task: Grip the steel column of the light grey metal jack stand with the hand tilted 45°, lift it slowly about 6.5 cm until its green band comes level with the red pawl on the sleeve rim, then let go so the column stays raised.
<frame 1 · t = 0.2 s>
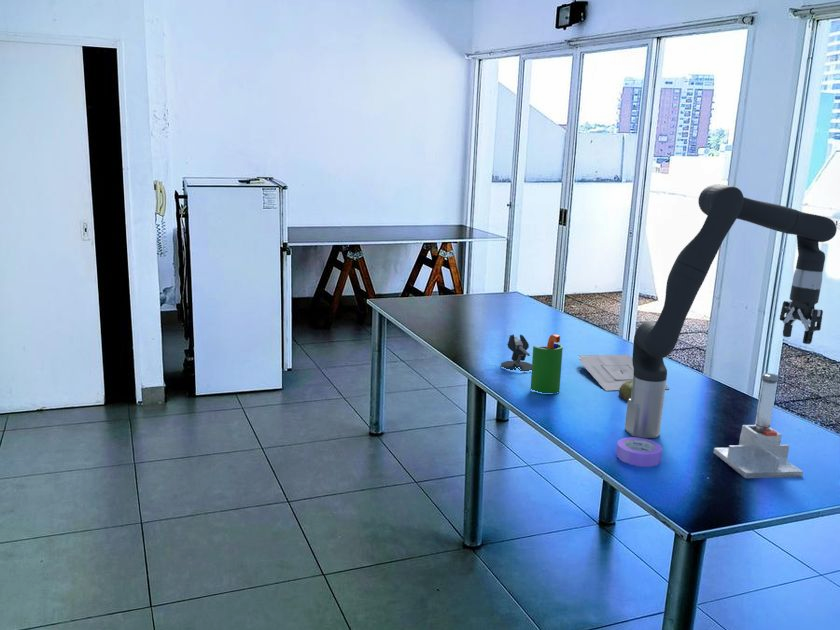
hand: (796, 340, 222), 29 cm above the table, fingers open, 8 cm apart
masking tape: (638, 459, 205), on the table
weight: (639, 398, 254), on the table
jack base: (756, 464, 204), on the table
green pen holder: (545, 390, 257), on the table
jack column: (763, 417, 201), point 14 cm above the table, slide at 0.0 cm
papers: (619, 378, 275), on the table
gun turret: (520, 371, 278), on the table
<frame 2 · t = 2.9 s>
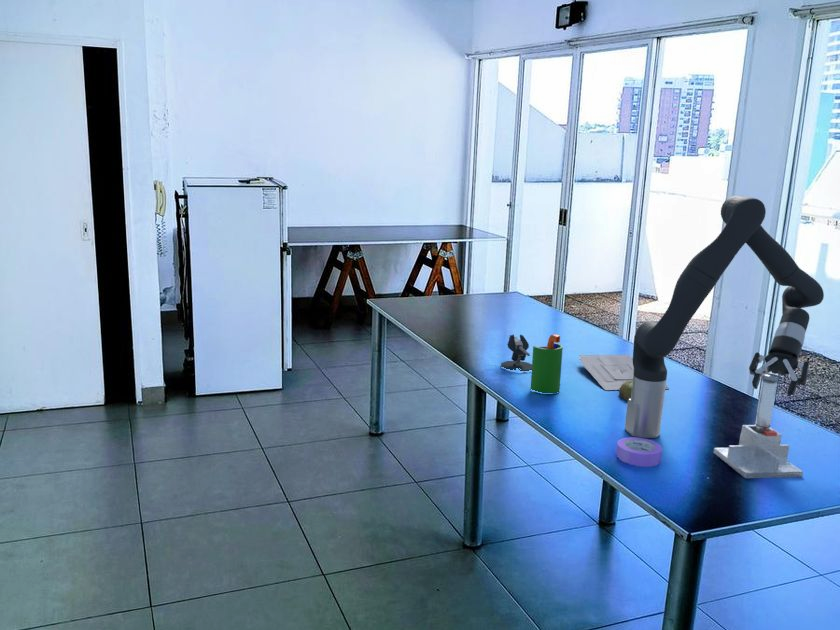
hand: (771, 391, 204), 19 cm above the table, fingers open, 8 cm apart
nothing on the table moved.
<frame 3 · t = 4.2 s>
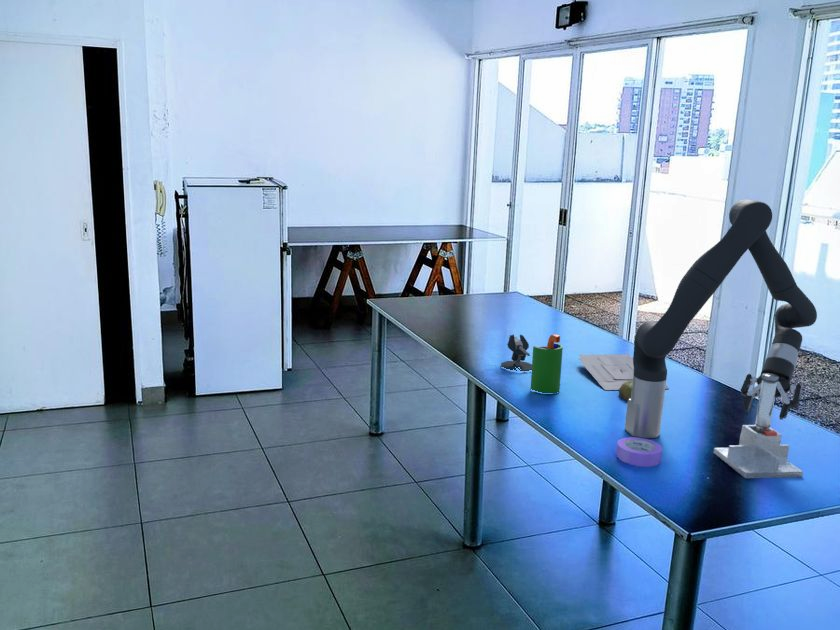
hand: (763, 414, 200), 15 cm above the table, fingers open, 8 cm apart
nothing on the table moved.
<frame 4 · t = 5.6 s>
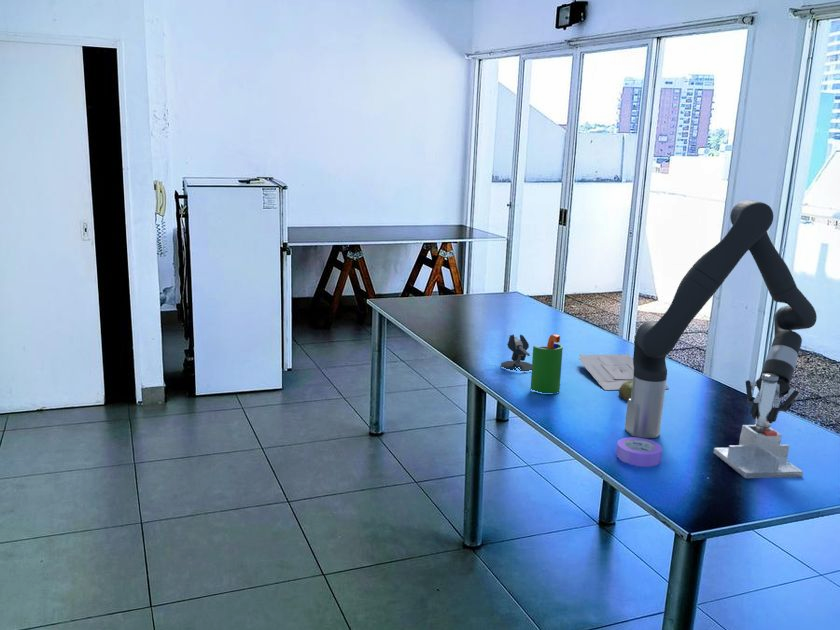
hand: (762, 419, 199), 14 cm above the table, fingers closed on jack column, 3 cm apart
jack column: (763, 417, 201), point 14 cm above the table, slide at 0.0 cm, touching gripper
everything else where it was.
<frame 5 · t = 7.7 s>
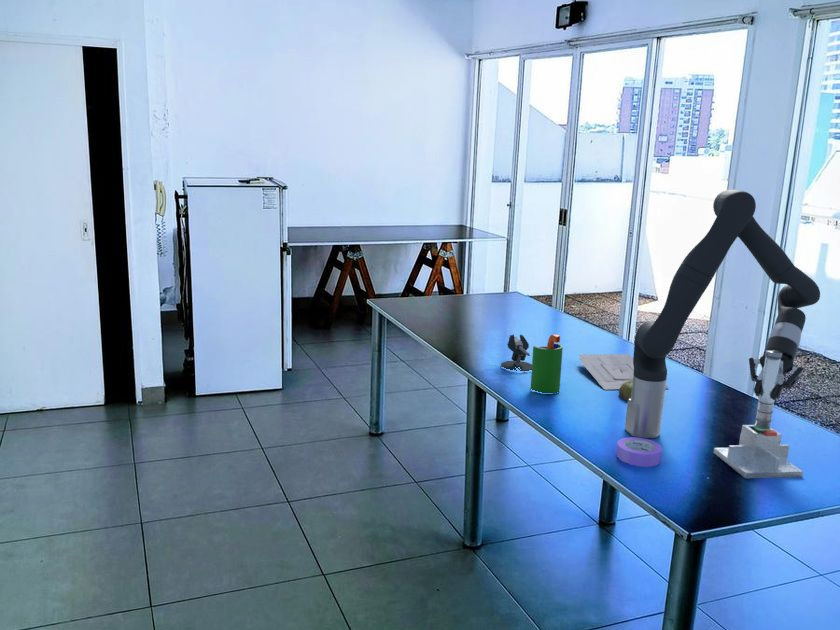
hand: (765, 396, 198), 20 cm above the table, fingers closed on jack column, 3 cm apart
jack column: (767, 394, 199), point 20 cm above the table, slide at 6.4 cm, touching gripper
everything else where it was.
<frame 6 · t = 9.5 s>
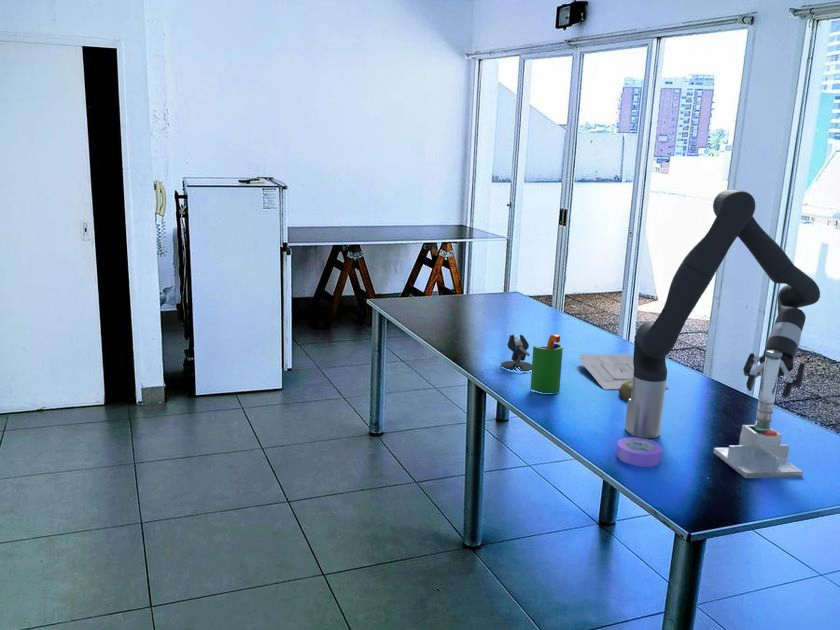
hand: (766, 393, 198), 21 cm above the table, fingers open, 8 cm apart
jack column: (767, 394, 199), point 20 cm above the table, slide at 6.5 cm
everything else where it was.
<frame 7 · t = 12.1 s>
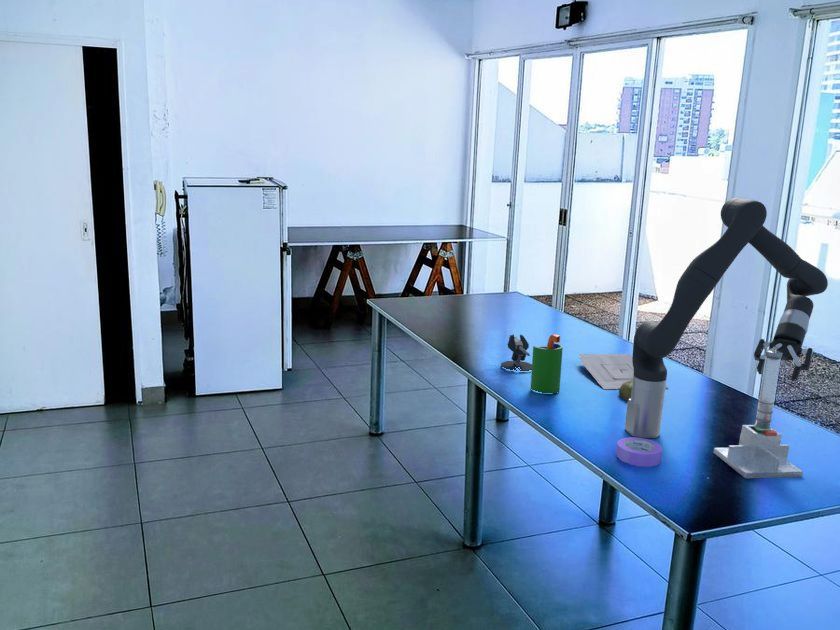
hand: (776, 376, 209), 22 cm above the table, fingers open, 8 cm apart
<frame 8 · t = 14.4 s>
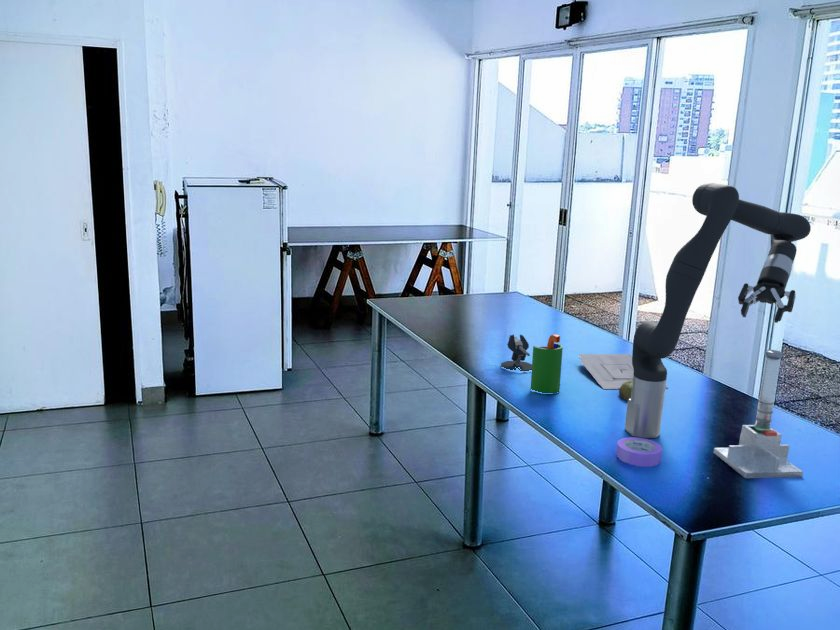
hand: (759, 318, 212), 37 cm above the table, fingers open, 8 cm apart
at the end: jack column slide at 6.5 cm; the gripper is holding nothing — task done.
